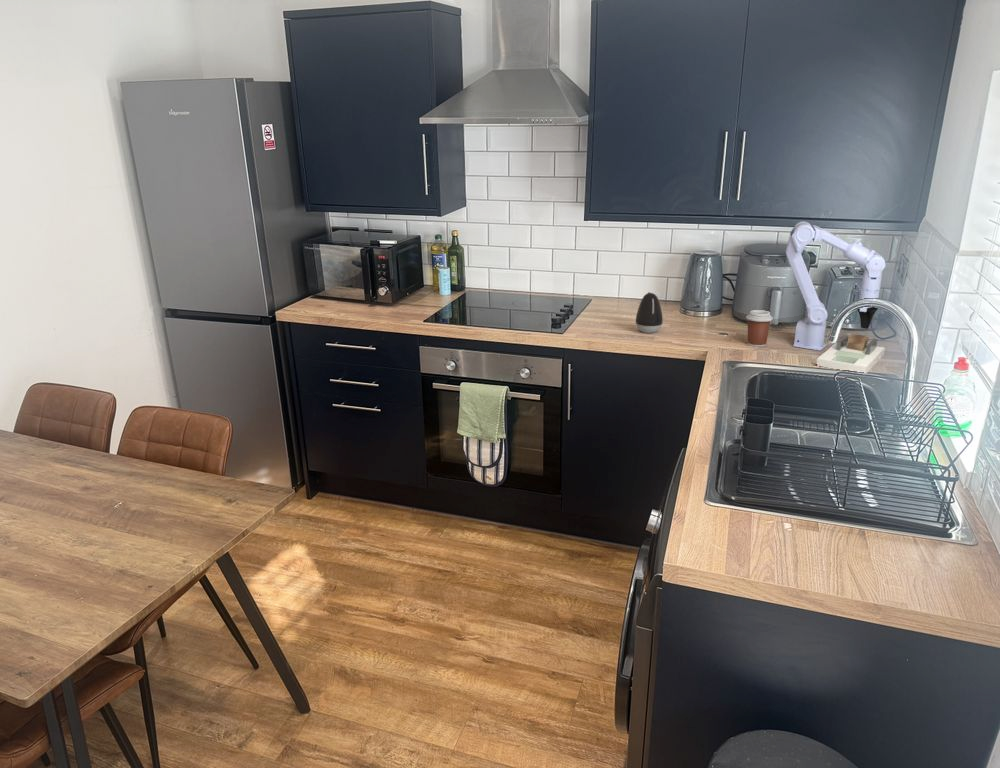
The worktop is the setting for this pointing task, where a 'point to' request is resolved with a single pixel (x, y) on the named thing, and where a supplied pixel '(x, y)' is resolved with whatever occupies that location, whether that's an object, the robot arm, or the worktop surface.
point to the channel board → (850, 358)
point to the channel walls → (844, 341)
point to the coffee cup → (758, 327)
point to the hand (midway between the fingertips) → (864, 328)
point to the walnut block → (857, 342)
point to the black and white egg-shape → (649, 314)
